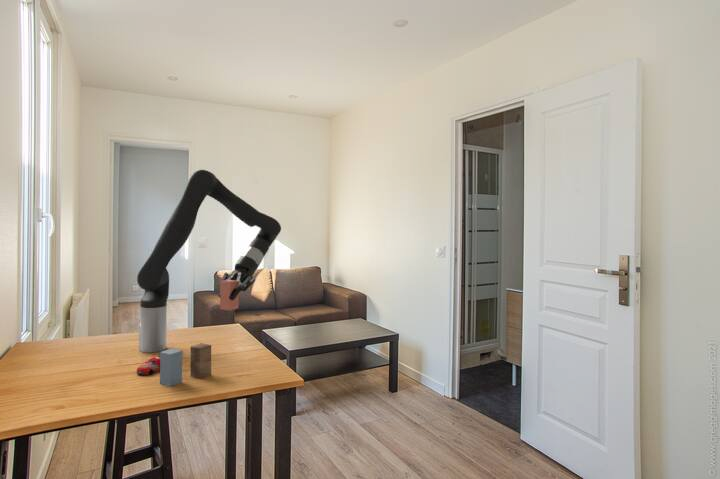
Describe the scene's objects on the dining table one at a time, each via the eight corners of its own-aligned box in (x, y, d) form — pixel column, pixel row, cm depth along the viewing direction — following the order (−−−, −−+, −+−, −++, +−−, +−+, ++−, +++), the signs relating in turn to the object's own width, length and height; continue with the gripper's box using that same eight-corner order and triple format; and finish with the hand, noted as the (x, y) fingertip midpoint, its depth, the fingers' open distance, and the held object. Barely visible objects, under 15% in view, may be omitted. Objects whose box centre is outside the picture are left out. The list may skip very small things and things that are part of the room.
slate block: (160, 383, 131) (160, 352, 131) (172, 379, 135) (172, 348, 135) (169, 386, 129) (170, 354, 129) (182, 381, 133) (182, 350, 133)
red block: (220, 308, 150) (220, 281, 149) (229, 306, 154) (229, 279, 153) (229, 310, 148) (229, 282, 147) (238, 308, 152) (238, 280, 151)
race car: (145, 377, 137) (145, 365, 137) (132, 375, 139) (132, 363, 138) (175, 365, 149) (175, 353, 149) (163, 363, 151) (163, 352, 151)
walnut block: (190, 376, 138) (190, 346, 138) (201, 372, 142) (201, 343, 142) (200, 379, 136) (200, 348, 136) (211, 374, 140) (211, 345, 140)
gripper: (230, 254, 160) (205, 289, 150) (259, 256, 153) (235, 293, 143) (240, 266, 165) (216, 302, 155) (268, 269, 158) (245, 306, 148)
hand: (225, 297), depth 149 cm, fingers closed on red block, 4 cm apart
